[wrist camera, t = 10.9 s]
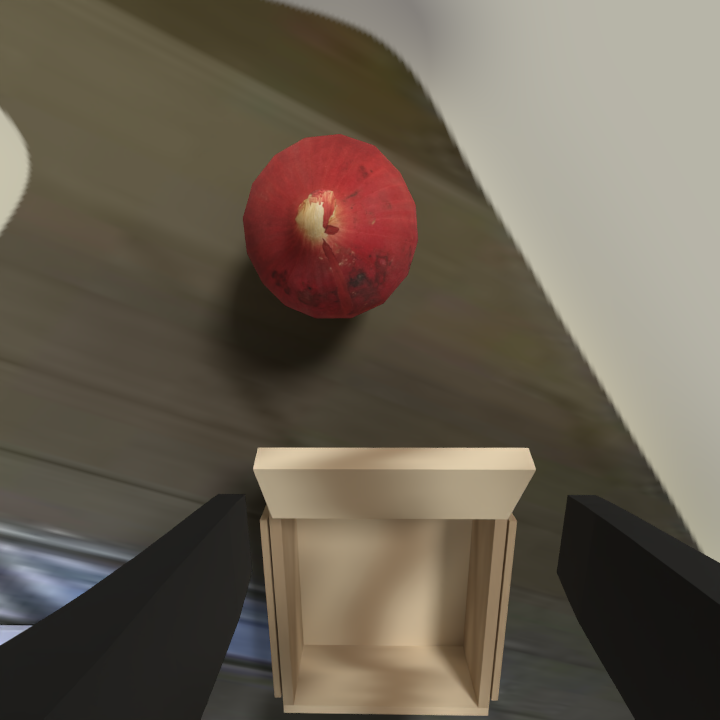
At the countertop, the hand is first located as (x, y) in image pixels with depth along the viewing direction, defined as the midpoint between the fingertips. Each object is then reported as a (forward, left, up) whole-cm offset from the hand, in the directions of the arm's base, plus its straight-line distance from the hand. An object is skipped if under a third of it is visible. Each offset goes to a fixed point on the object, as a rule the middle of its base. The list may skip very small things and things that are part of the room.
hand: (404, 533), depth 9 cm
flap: (0, -2, -5) cm, 5 cm away
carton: (0, -10, -10) cm, 14 cm away
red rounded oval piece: (-2, +7, -10) cm, 13 cm away
